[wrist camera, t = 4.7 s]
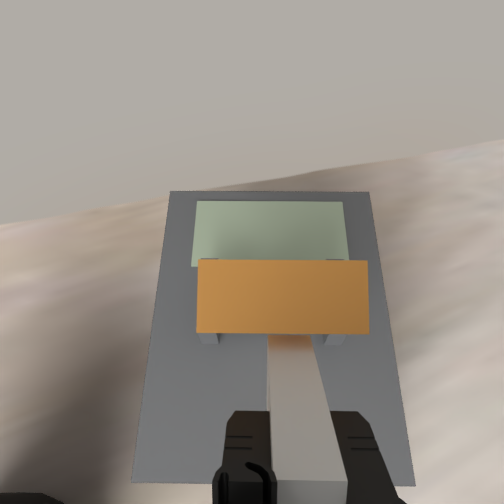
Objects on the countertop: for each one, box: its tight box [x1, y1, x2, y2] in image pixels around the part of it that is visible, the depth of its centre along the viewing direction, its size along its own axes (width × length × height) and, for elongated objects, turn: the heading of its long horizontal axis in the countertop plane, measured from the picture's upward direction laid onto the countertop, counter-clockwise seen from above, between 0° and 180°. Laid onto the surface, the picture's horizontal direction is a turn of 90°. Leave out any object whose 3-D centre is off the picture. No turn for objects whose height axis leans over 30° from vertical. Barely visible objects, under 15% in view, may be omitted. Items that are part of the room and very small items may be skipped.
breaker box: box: [131, 191, 416, 486], centre depth 29 cm, size 14×18×15 cm
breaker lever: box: [196, 259, 370, 334], centre depth 19 cm, size 6×2×11 cm, turn 89°
